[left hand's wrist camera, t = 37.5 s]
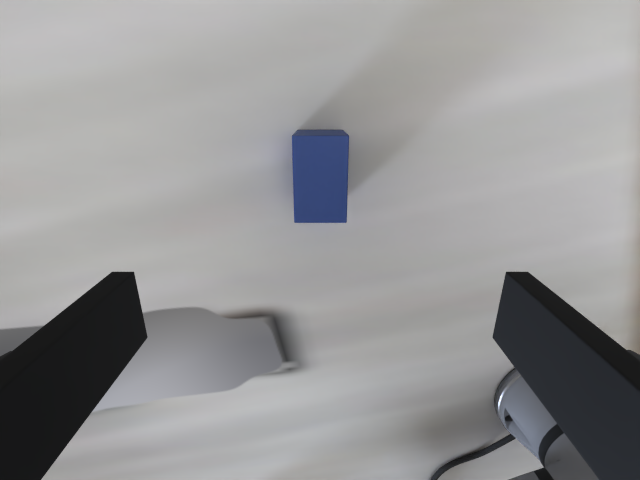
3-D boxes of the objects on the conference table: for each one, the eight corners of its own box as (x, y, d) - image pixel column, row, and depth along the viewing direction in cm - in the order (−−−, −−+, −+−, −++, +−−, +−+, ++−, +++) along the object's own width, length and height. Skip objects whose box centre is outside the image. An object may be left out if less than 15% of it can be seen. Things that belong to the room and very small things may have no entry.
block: (341, 200, 43) (346, 222, 35) (299, 200, 43) (294, 222, 35) (343, 129, 40) (348, 135, 32) (297, 129, 40) (291, 135, 32)
